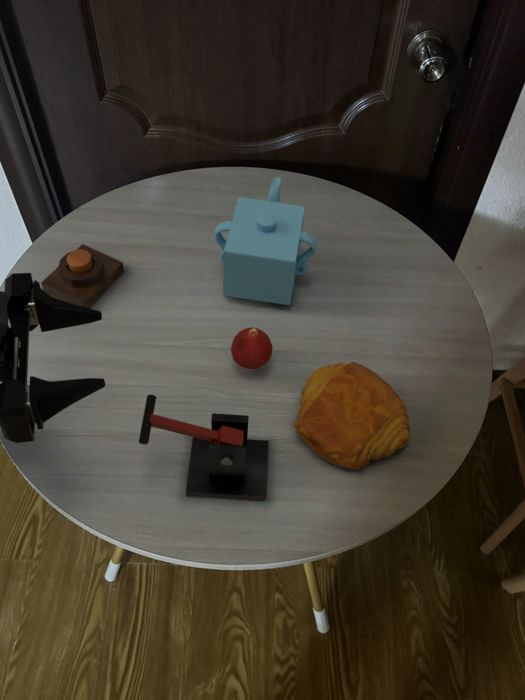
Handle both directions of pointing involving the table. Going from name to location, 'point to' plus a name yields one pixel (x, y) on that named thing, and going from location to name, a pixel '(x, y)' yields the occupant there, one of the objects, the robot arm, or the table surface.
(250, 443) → the bracket
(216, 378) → the table surface
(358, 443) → the croissant
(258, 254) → the teapot
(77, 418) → the table surface
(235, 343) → the onion
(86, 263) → the button
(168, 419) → the lever
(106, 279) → the button block
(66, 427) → the table surface
